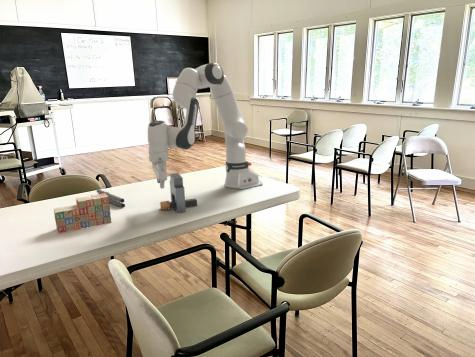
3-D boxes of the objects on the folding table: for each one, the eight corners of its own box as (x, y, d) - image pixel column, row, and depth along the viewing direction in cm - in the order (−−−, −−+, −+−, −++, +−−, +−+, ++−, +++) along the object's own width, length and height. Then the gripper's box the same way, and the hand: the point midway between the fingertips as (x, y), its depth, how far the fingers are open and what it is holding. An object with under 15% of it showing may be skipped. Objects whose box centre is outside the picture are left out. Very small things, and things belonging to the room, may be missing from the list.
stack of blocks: (58, 234, 145) (53, 205, 142) (56, 229, 150) (52, 201, 147) (111, 222, 156) (108, 196, 152) (108, 218, 161) (105, 192, 158)
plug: (195, 203, 178) (195, 196, 177) (197, 206, 174) (197, 198, 173) (160, 208, 172) (159, 200, 171) (161, 211, 168) (161, 203, 167)
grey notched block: (179, 202, 180) (177, 171, 176) (185, 211, 167) (183, 179, 162) (171, 203, 179) (169, 172, 175) (177, 213, 165) (175, 180, 161)
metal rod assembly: (125, 207, 175) (124, 197, 174) (120, 208, 173) (119, 199, 172) (101, 196, 192) (99, 187, 191) (96, 198, 190) (95, 189, 189)
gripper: (169, 160, 155) (171, 190, 159) (162, 152, 174) (164, 179, 177) (155, 161, 153) (157, 192, 157) (149, 153, 172) (151, 180, 175)
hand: (160, 185), depth 167 cm, fingers open, 8 cm apart
